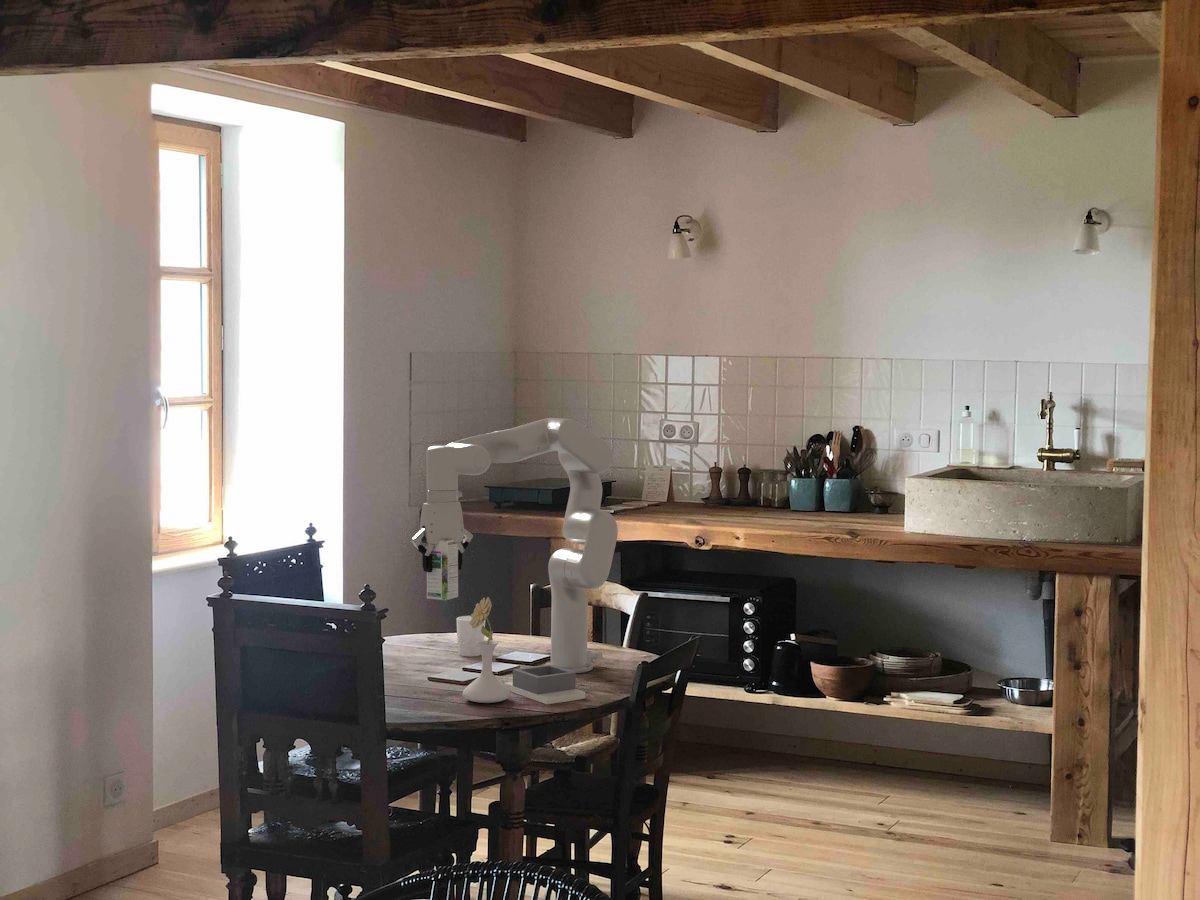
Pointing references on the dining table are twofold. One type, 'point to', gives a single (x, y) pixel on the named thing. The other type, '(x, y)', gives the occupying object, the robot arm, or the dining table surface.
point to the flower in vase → (485, 663)
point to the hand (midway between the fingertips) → (442, 569)
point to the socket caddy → (545, 684)
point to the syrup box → (443, 571)
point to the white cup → (468, 637)
